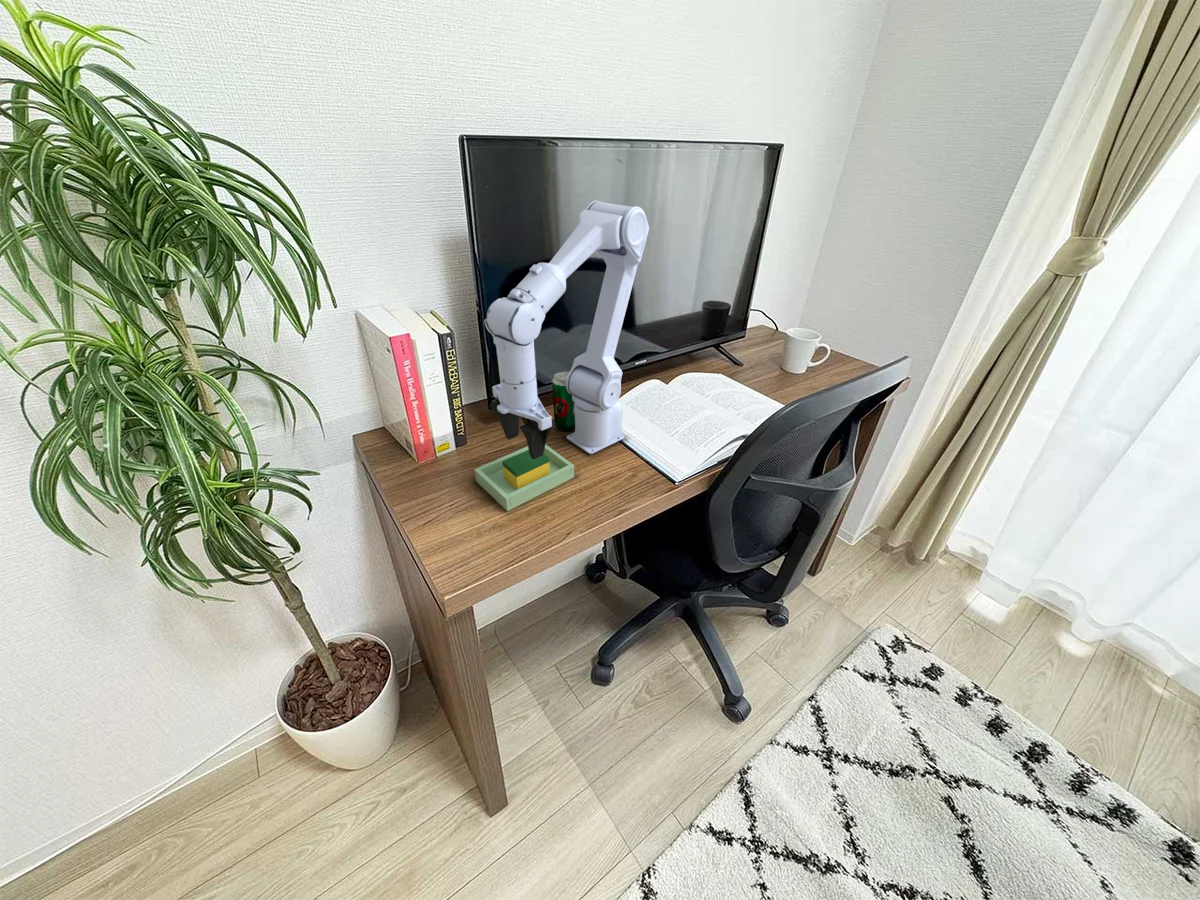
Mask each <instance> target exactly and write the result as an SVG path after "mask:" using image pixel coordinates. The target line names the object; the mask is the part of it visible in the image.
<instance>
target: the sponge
mask: <svg viewBox="0 0 1200 900" xmlns="http://www.w3.org/2000/svg"><path fill="white" fill-rule="evenodd" d="M502 463H503V472H504V479H505V480H506V481H507V482H509V483H510V484H511V485H512V486H513V487H514V488H515V489H516V490H518V489H520V488H522V487H524V486H526V485H528V484H530V483H532V482H534V481H537V480H539V479H541V478H543V477H545V476H547V475H549V474H550V470H549V458H548V457H547V456H546V455H544V454H543V456H540V457H538V458H536V459H532V458H531V456H530V453H529V450H527V451H525V452H522V453H520V454H518V455H516V456H513V457H511V458H509V459H507V460H504V461H502Z"/></svg>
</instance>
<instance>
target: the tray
mask: <svg viewBox="0 0 1200 900" xmlns="http://www.w3.org/2000/svg"><path fill="white" fill-rule="evenodd" d="M527 450H529V449H528V445H527V446H525V447H522V448H520V449H518V450H515V451H514V452H511V453H508V454H507V455H504V456H502V457H499V458H498V459H495V460H493V461H489V462H488V463H486V464H483V465H481V466H479V467H477V468H474V475H475V481H476V483H477V484H478V485H479V486H480V487H481V488H483V489H484V490H485V491H486V492H487V494H489V496H490V497H492V498H493V499H494V500H495V501H496V502H497V503H498V504H499V505H500V506H501V507H502V508H503V509H504V510H505V511H507V512H509V511H511V510H513V509H515V508H517V507H519V506H520V505H523V504H524V503H527V502H528V501H531V500H533V499H534V498H537V497H538V496H540V495H543V494H544V493H546V492H548V491H550V490H552V489H554V488H556V487H558V486H560V485H562V484H564V483H565V482H568V481H569V480H570V481H571V479H573V478H575V464H573V463H572V462H570V461H569V460H568V459H566V458H565V457H564V456H562V455H561V454H560V453H558V452H557V451H556V450H554V449H553V448H551V447H550V446H549V445H547V443H546V444H545V448H544V453H543V454H544V455H546V456H547V457H548V458H549V470H550V474H549V475H547V476H545V477H543V478H541V479H539V480H537V481H534V482H532V483H530V484H528V485H526V486H524V487H522V488H520V489H518V490H516V489H515V488H514V487H513V486H512V485H511V484H510V483H509V482H507V481H506V480H505V479H504V472H503V463H502V461H504V460H507V459H509V458H511V457H513V456H516V455H518V454H520V453H522V452H525V451H527Z"/></svg>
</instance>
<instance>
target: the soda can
mask: <svg viewBox="0 0 1200 900" xmlns="http://www.w3.org/2000/svg"><path fill="white" fill-rule="evenodd" d="M569 372H570V371H558V372H557V373H555V374H554V375H553V379H552V380H551V383H552V384H551V385H552V386H551V387H552V403H553V404H552V405H553V420H554V421H555V426H554V427H555V428H556V429H557V430H559V431H562V432H569V431H573V430H575V402H574V401H573V400H572V395H571V394H569V393H568V391H567V389H566V379H567V376H568V373H569Z"/></svg>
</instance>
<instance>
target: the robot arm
mask: <svg viewBox="0 0 1200 900" xmlns="http://www.w3.org/2000/svg"><path fill="white" fill-rule="evenodd" d="M649 231H650V225H649V222H648V219H647V215H646V213H645V210H644V209H643V207H640V206H636V205H634V206H628V205H623V204H616V203H610V202H602V201H600V200H591V202H589V203H588V204H587V205H586V206H585V208H584V209H583V210H582V211H581V212H580V213H579V215H578V225H577V226H576V227H575V229H574V230H573V231H572V233H571V234H570V235H569V237H568V238H567V239H566V240H565V242H564V243H562V246H561V247H560V248H559V250H558V251H557V252H556V253H555V254H554V256H553V257H552V258H551V260H550V261H549V262H537V264H535V263H534V264H533V265H532V266H531V267H530V268H529V272H528V273H527V274H526V275H525V277H524V278H523V279H522V280H521V281H520V282H519V283H518V284H517V285H516V286H515V287H514V288H512V289H511V290H510V292H509V293H508V295H507V297H502V298H501V297H500V298H497V299H496V300H494V301H493V302H492V303H491V304H490V306H489V307H488V309H487V312H486V318H485V319H484V320H483V322H484V326H485V329H486V330H487V331H488V333H490V335H491V336H492V339H493V344H494V345H495V348H496V357H497V364H498V365H497V366H498V373H499V381H500V383H498V384H495V385H493V386H492V387H491V388H492V389H491V390H492V395H493V396H492V397H494V398H495V399H496V401H493V402H491V403H490V404H489V407H490V409H491V410H492V412H493V413H494V414H495V416H496V417H497V419H498V421H499V424H500V425H501V428H502V430H503V433H504V435H505V437H506V439H507V440H508V441H510V440H512V439H515V438H517V437H519V435H520V431H521V432H522V434H523V436H524V438H525V441H526V444H527V446H528V449H529V453H530V456H531V458H532V459H536V458H538V457H540V456H543V453H544V448H545V444H546V445H547V440H548V438H549V436H550V434H551V432H552V430H553V429H554V427H555V421H554V418H552V415H550V414H549V413H548V412H547V410H546V409H545V406H544V405H543V403H542V401H541V400H540V398H539V397H538V395H539V394H538V382H537V369H536V354H535V340H536V339H537V338H538V337H539V335H540V332H541V331H542V324H543V322H544V321H545V318H546V314H547V313H548V312H549V311H550V309H551V308H552V307H553V306H554V305H555V304H556V303H557V302H558V300H559V299H560V298H561V297H562V296H563V295H564V294H565V292H566V290H567V279H568V278H569V277H570V276H571V275H572V274H573V273H574V272H575V271H576V270H577V269H578V268H579V267H580V266H581V265H583V264H584V263H585V262H586V261H587V260H588V259H589V258H590V257H591V256H592V255H593V254H594V253H595V252H597V253H598V254H599V255H600V256H601V257H602V259H603V262H604V263H605V265H606V266H605V267H606V268H605V272H604V276H603V280H602V284H601V288H600V292H599V297H598V301H597V306H596V308H595V309H596V310H595V313H594V318H593V322H592V326H591V331H590V334H589V339H588V343H587V346H586V351H585V352H583V353H581V354H580V355H578V356H576V357H575V358H574V359H573V363H572V366H571V369H570V370H569V371H568V372H569V373H568V376H567V379H566V389H567V391H568V393H569V394H571V395H572V400H573V401H574V402H575V428H574V432H572V433H570V434H567V435H566V439H567V440H568V441H569V442H571V443H573V444H574V445H575V446H576V447H578V448H580V449H581V450H583V452H586V453H587V454H589V455H593V454H595V453H598V452H600V451H602V450H604V449H605V448H607V447H608V448H609V446H611V445H613V444H616V443H618V442H620V441H623V440H624V439H625V436H624V435H623V434H622V429H623V406H622V403H621V402H620V400H619V399H620V397H621V393H622V376H623V374H624V373H623V371H622V369H621V367H620V366H619V364H618V362H617V361H616V360H615V355H616V351H617V346H618V343H619V339H620V335H621V331H622V328H623V324H624V319H625V316H626V312H627V309H628V304H629V301H630V297H631V292H632V289H633V285H634V281H635V279H636V278H635V277H636V274H637V271H638V266H639V264H641V261H642V259H643V253H644V250H645V246H646V243H647V239H648V235H649ZM520 417H521V418H524V419H528V420H530V422H527V423H525V424H522V425H520Z"/></svg>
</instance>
